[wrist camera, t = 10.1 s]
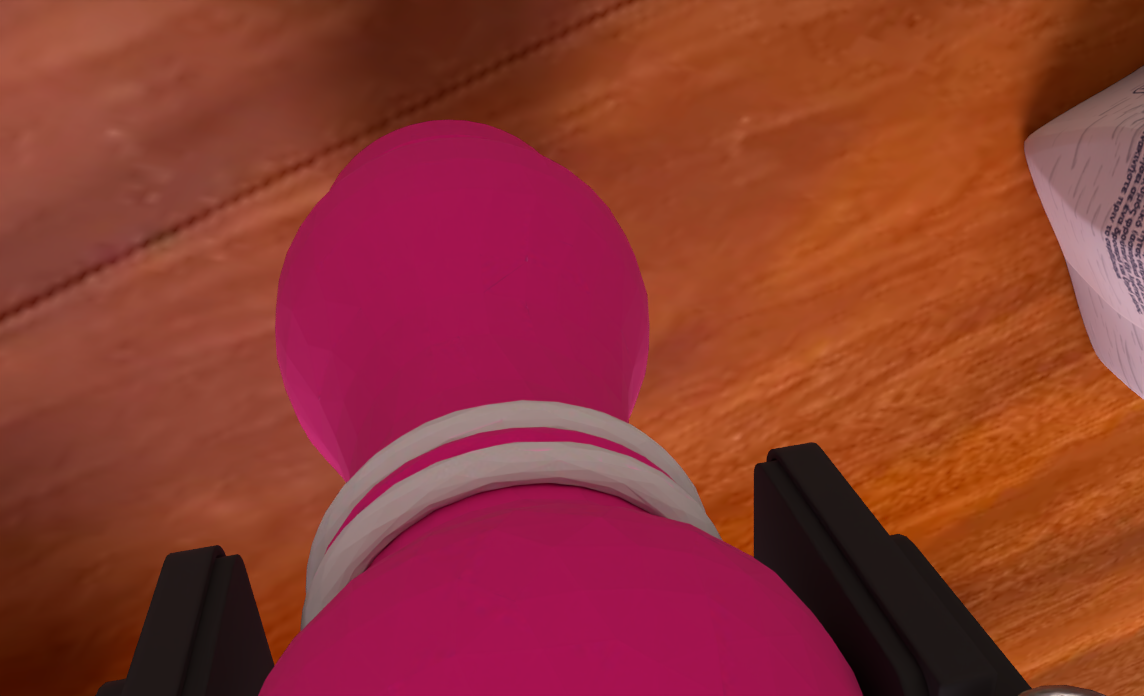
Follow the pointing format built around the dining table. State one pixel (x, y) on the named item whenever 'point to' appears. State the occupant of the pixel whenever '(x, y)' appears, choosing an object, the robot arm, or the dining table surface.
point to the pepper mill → (503, 451)
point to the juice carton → (1100, 215)
